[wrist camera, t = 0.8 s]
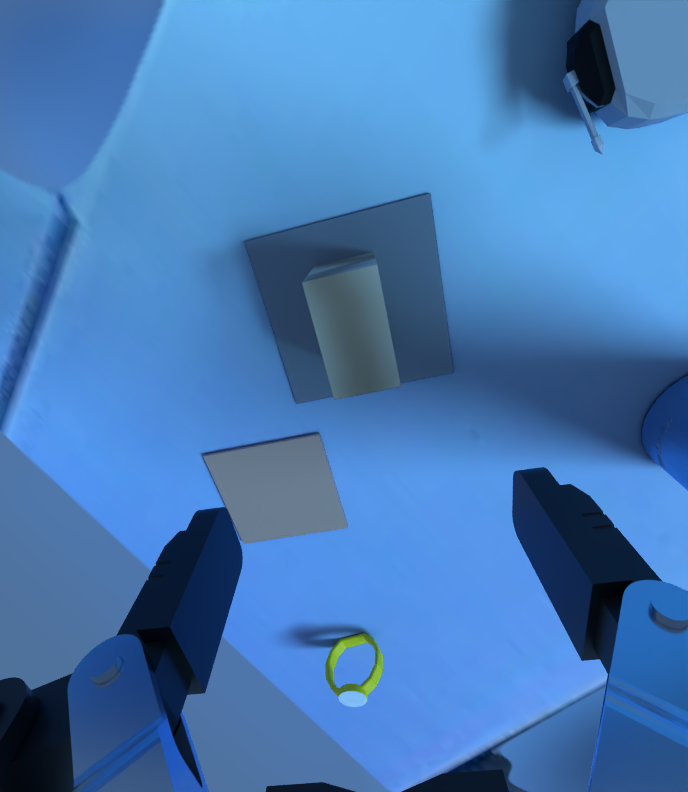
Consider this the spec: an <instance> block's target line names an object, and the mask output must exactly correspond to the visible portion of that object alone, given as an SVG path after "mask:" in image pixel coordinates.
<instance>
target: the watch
mask: <svg viewBox="0 0 688 792" xmlns="http://www.w3.org/2000/svg"><path fill="white" fill-rule="evenodd" d="M363 643H369V644H371V645H372V646H373V647H374V649H375V665H374V667H373V669H372V671H371V674H370V676H369V677H368V678H367V679H366V680H365V681H364V682H363V683H362V684H361V685H357V684H346V685H343V686H342V687H341V688H338V687H336V685H335V683H334V668H335V665H336V663H337V660H338V657H339V656H340V655H341V654H342V653H343V651H344V650H345V649H346V648H348V647H352V646H356V645H359V644H363ZM382 671H383V655H382V652H381V650H380V648H379V646H378V644H377V643H376V642H375V640H374V639H373V638H372V637H371V636H369V635H368V634H366V633H361V634H358V635H354V636H351V637H346V638H343V639H342V638H340V640H339V641H338V642H337V643H336V644H335V645H334V647H333V648H332V650H331V651H330V653H329V656H328V658H327V661H326V680H327V682H328V684H329V685H330V687H331V689H332V690H333V691H334V693H335V694H336V695H337V696H338V697H339V701H340V702H341V703H342V704H344V705H346V706H350V707H359V706H362V705H364V704H365V703H366V702H367V695H368V694H369V693H370V692H371V691H372V690H373V689H374V688H375V687H376V685H377V684H378V682H379V680H380V677H381V675H382V673H383V672H382Z"/></svg>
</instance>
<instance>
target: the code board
mask: <svg viewBox="0 0 688 792" xmlns="http://www.w3.org/2000/svg"><path fill="white" fill-rule="evenodd" d="M245 245H246V248H247V251H248V254H249V258H250V261H251V264H252V267H253V270H254V273H255V276H256V279H257V282H258V285H259V289H260V292H261V295H262V298H263V301H264V304H265V307H266V310H267V313H268V316H269V320H270V323H271V326H272V329H273V332H274V335H275V338H276V341H277V344H278V347H279V351H280V354H281V357H282V360H283V363H284V366H285V369H286V372H287V375H288V378H289V382H290V385H291V388H292V391H293V394H294V397H295V400H296V403H297V404H298V403H303V402H308V401H313V400H318V399H323V398H328V397H333V393H332V389H331V386H330V382H329V379H328V375H327V371H326V368H325V364H324V361H323V357H322V353H321V350H320V346H319V342H318V339H317V335H316V332H315V328H314V324H313V321H312V317H311V313H310V310H309V306H308V303H307V299H306V295H305V292H304V288H303V285H302V282H303V281H304V279H305V278H306V277H307V275H308V274H309V273H310V271H311V270H312V269H313V267H314V266H318V265H322V264H326V263H330V262H334V261H338V260H342V259H346V258H350V257H355V256H359V255H363V254H367V253H371V252H374V254H375V258H376V262H377V266H378V271H379V276H380V281H381V287H382V292H383V297H384V302H385V307H386V312H387V318H388V323H389V328H390V333H391V338H392V343H393V348H394V354H395V359H396V364H397V369H398V374H399V379H400V383H404V382H409V381H414V380H419V379H424V378H429V377H434V376H439V375H444V374H449V373H454V371H453V363H452V356H451V348H450V340H449V333H448V325H447V317H446V310H445V302H444V294H443V287H442V279H441V271H440V263H439V256H438V248H437V240H436V233H435V225H434V217H433V210H432V202H431V194H430V193H429V194H425V195H422V196H418V197H414V198H410V199H406V200H402V201H399V202H395V203H391V204H387V205H383V206H379V207H376V208H372V209H368V210H364V211H360V212H356V213H353V214H349V215H345V216H341V217H337V218H333V219H330V220H326V221H322V222H318V223H314V224H310V225H307V226H303V227H299V228H295V229H291V230H288V231H284V232H280V233H276V234H272V235H268V236H265V237H261V238H257V239H253V240H249V241H245Z"/></svg>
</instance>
